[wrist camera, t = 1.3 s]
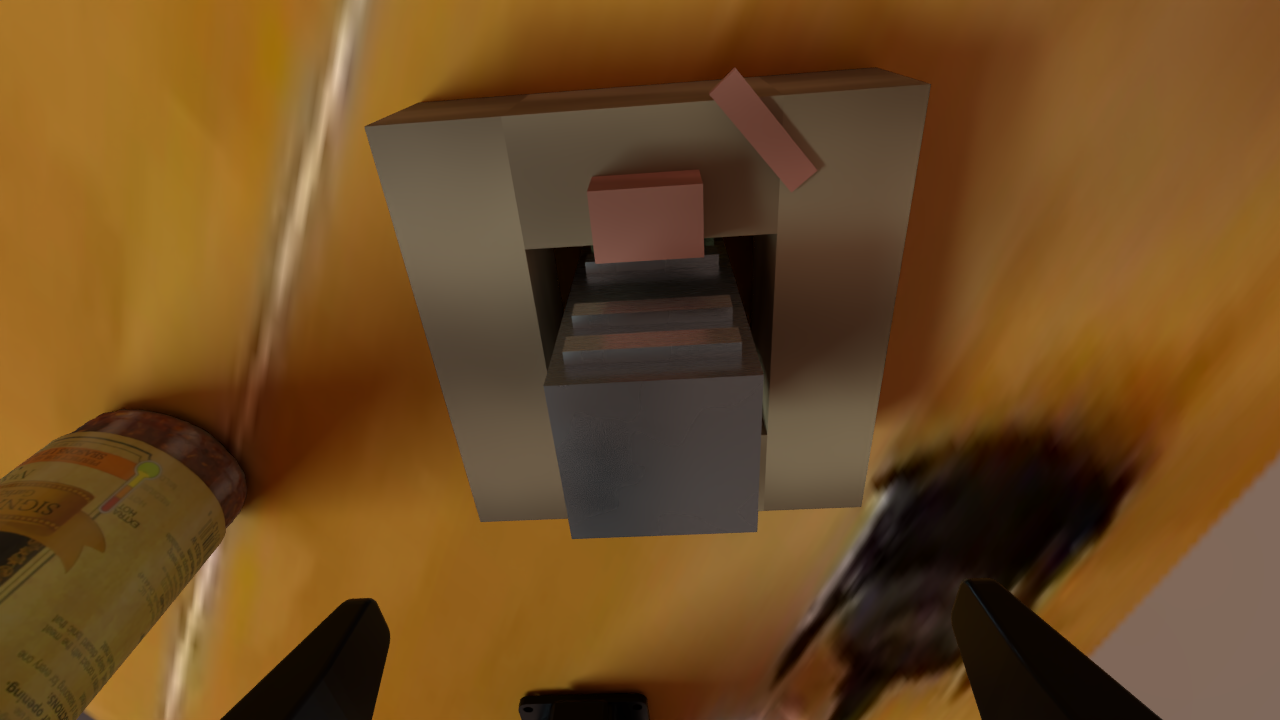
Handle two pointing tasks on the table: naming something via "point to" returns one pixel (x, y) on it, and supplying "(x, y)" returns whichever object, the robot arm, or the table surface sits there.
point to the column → (656, 399)
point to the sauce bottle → (102, 551)
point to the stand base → (660, 251)
